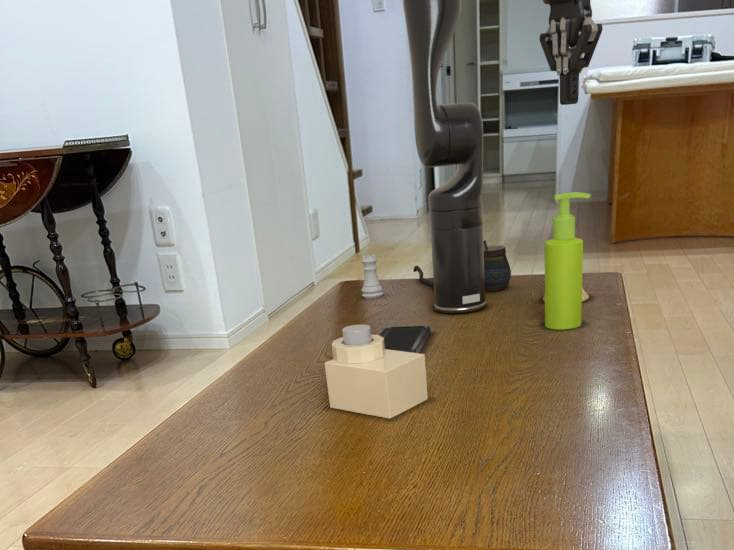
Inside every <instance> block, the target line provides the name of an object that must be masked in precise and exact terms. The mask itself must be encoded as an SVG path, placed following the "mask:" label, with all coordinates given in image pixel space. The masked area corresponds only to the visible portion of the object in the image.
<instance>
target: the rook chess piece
mask: <svg viewBox="0 0 734 550" xmlns="http://www.w3.org/2000/svg"><path fill="white" fill-rule="evenodd" d="M360 262H361V263H362V264H363V268H362V270H363V272H364V273H363V275H364V278H363V279H364V280H363V284H362V287H361V289H360V290H361V292H362V294H361V296H362V298H363V299H365V300H366V299H368V300H372V299H373V300H374V299H378V298H381V297H383V296H384V292H383V286H382V285H381V282H380V281H379V277H378V274H377V269H378V267H377V265H376V264H377V262H378V259H377V257H376V254H373V253H371V254H363V255H362V259H361V260H360Z"/></svg>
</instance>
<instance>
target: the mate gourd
mask: <svg viewBox="0 0 734 550" xmlns="http://www.w3.org/2000/svg"><path fill="white" fill-rule="evenodd" d="M483 243H484V272H485V293H486V292H487V293H488V292H499V291H502V290H505V289H507V287H508V286H509V284H510V281H511V277H512V270H511V266H510V262H509V259H508V257H507V250H506V248H507V247H506V246H504V245H500V244H491V245H488V243H487V240H486V239H484V240H483Z"/></svg>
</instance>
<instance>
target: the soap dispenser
mask: <svg viewBox="0 0 734 550" xmlns="http://www.w3.org/2000/svg"><path fill="white" fill-rule="evenodd" d="M591 197H592V194H591V193H588V192H581V191H570V192H563V193H562V192H561V193H556V194H554V200H555V201H558V214H556V215H555V216H553V218H552V238H551V239H548V240H546V241H544V296H545V302H544V328H547V329H550V330H563V331H564V330H572V329H576V328H579V327H581V326H582V321H583V319H582V318H583V316H582V315H583V314H582V312H583V302H582V288H583V272H584V271H583V269H584V268H583V267H584V261H583V260H584V240H583V239H582V238H578V237H576V216H575V215H573V214H572V213H571V210H570V209H571V199H576V198H577V199H578V198H579V199H587V200H588V199H590V198H591ZM570 213H571V214H570Z"/></svg>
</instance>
